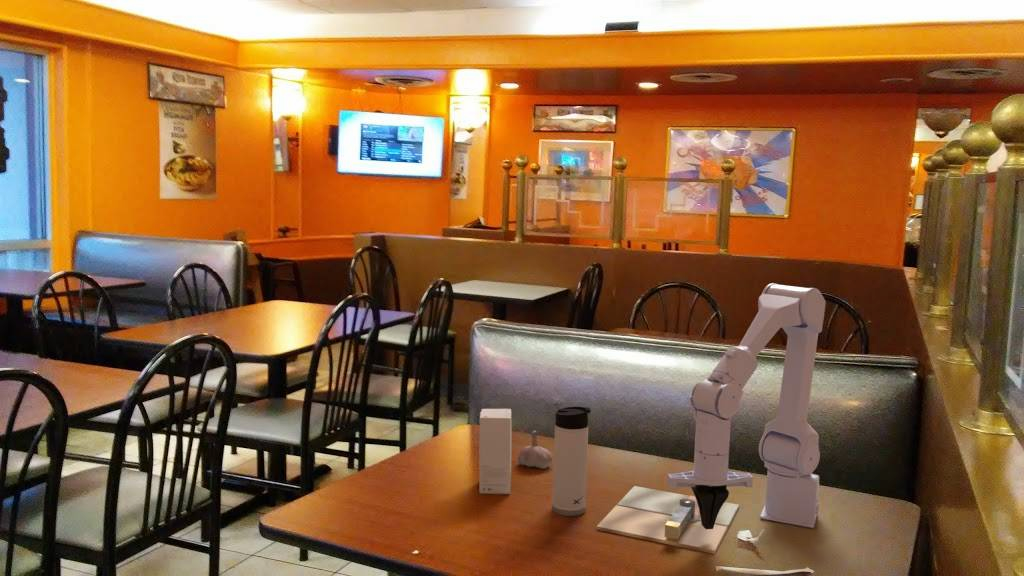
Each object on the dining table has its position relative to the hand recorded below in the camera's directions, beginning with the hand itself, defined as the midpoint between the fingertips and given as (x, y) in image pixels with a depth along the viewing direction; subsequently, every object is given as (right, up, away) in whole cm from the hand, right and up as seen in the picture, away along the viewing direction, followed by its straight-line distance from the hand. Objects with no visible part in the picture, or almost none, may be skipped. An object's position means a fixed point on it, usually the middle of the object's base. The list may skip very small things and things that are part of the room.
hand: (707, 526), depth 141 cm
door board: (-4, -2, +11) cm, 12 cm away
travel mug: (-23, -1, +14) cm, 27 cm away
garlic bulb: (-29, +2, +39) cm, 48 cm away
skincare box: (-37, 0, +25) cm, 45 cm away
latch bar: (-4, -1, +5) cm, 7 cm away
